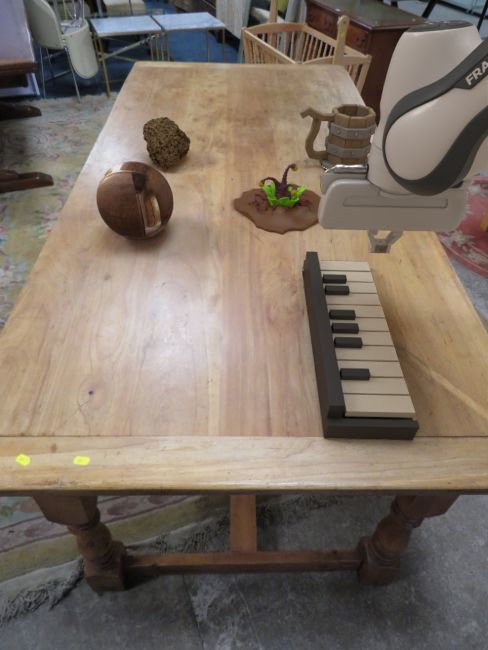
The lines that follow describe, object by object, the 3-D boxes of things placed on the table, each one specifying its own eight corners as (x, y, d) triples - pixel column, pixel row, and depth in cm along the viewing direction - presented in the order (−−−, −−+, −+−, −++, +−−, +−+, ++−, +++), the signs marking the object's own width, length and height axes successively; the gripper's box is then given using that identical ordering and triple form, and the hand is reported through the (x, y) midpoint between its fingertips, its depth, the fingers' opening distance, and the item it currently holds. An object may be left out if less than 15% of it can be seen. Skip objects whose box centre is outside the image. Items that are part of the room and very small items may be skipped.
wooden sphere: (104, 219, 96) (88, 152, 86) (171, 211, 99) (164, 145, 89) (106, 258, 86) (88, 187, 76) (181, 248, 89) (174, 179, 78)
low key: (366, 266, 81) (367, 261, 80) (369, 275, 79) (370, 270, 78) (318, 265, 81) (318, 260, 80) (319, 274, 79) (320, 269, 78)
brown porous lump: (156, 177, 113) (124, 128, 112) (188, 172, 123) (159, 127, 123) (181, 147, 105) (147, 95, 105) (212, 145, 116) (181, 97, 115)
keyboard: (364, 274, 84) (371, 248, 80) (412, 440, 58) (426, 415, 54) (302, 273, 84) (305, 247, 80) (323, 438, 58) (330, 413, 54)
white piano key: (407, 400, 59) (410, 395, 58) (412, 417, 57) (415, 412, 57) (341, 399, 59) (343, 394, 58) (344, 416, 57) (346, 411, 57)
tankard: (361, 155, 122) (374, 97, 112) (372, 175, 114) (387, 115, 103) (291, 154, 122) (297, 97, 111) (296, 175, 113) (303, 114, 102)
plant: (344, 222, 97) (353, 174, 89) (272, 248, 90) (276, 198, 82) (290, 185, 109) (295, 140, 101) (223, 205, 101) (222, 158, 94)
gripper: (325, 174, 56) (313, 261, 66) (485, 177, 56) (449, 264, 65) (321, 154, 61) (309, 238, 70) (469, 156, 60) (437, 241, 70)
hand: (378, 251), depth 68 cm, fingers closed
